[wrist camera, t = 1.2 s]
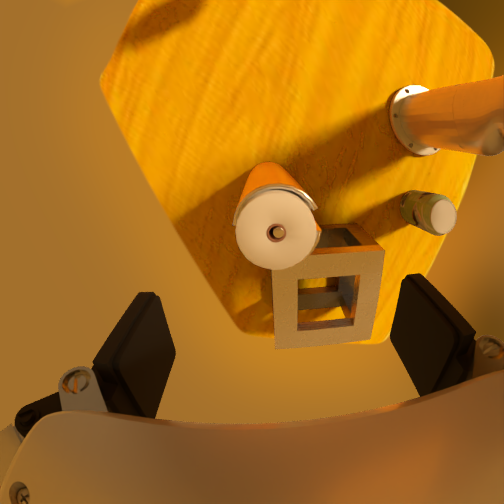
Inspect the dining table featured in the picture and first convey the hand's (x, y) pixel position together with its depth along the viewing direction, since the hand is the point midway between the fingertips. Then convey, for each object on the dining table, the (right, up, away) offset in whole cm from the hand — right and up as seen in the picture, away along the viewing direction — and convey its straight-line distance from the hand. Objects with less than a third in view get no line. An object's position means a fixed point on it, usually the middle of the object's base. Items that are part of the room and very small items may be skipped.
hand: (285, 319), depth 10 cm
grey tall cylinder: (+1, +13, +32) cm, 35 cm away
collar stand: (+10, 0, +37) cm, 38 cm away
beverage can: (+27, +11, +32) cm, 43 cm away
